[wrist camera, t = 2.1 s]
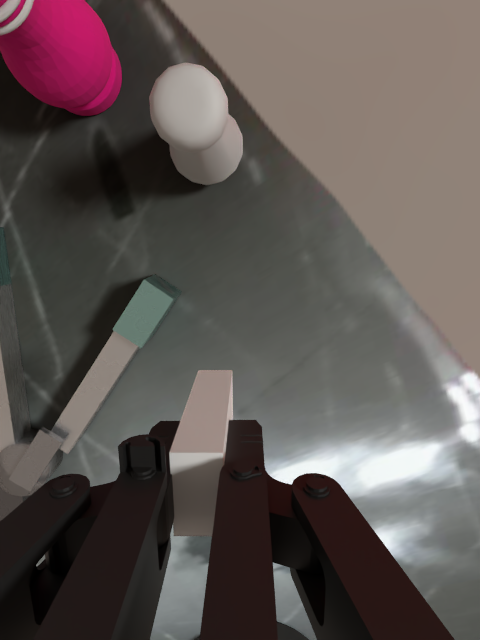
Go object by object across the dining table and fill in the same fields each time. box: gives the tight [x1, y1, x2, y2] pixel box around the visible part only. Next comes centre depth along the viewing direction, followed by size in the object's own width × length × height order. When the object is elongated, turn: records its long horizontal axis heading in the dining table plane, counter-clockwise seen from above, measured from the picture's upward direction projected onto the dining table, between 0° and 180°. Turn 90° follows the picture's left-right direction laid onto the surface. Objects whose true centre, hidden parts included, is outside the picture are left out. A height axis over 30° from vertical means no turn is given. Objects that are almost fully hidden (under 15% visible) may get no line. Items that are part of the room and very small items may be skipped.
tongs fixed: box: [0, 227, 63, 521], centre depth 36 cm, size 29×6×4 cm, turn 1°
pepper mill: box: [0, 0, 122, 116], centre depth 22 cm, size 7×7×20 cm
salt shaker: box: [149, 63, 243, 185], centre depth 27 cm, size 6×6×13 cm
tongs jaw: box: [9, 274, 181, 491], centre depth 35 cm, size 22×4×4 cm, turn 146°
